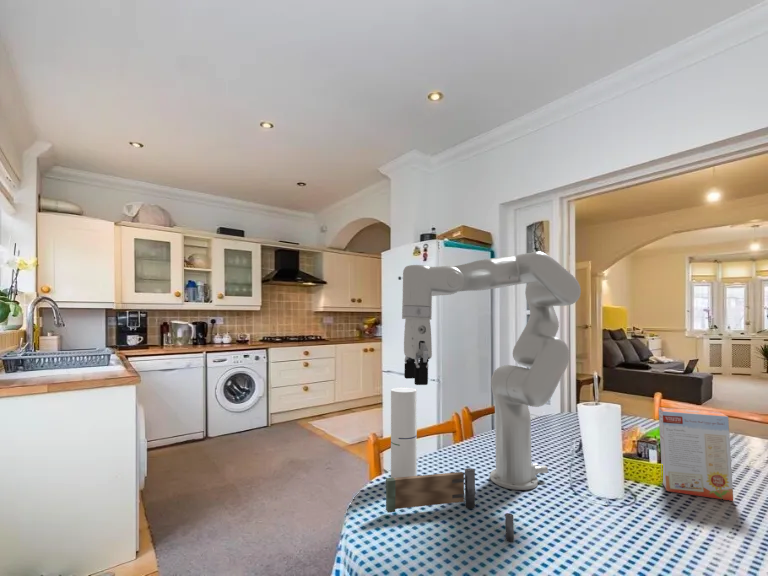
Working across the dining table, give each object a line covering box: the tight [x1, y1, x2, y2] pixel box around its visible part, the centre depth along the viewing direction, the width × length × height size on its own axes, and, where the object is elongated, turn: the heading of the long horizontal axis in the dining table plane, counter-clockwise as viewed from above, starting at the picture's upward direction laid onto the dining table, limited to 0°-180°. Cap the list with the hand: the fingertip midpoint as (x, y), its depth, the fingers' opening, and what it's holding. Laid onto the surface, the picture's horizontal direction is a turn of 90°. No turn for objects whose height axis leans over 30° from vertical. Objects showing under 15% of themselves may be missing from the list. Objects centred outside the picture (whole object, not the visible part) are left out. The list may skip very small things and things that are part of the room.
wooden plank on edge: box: [385, 471, 465, 514], centre depth 93 cm, size 19×2×7 cm, turn 102°
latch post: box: [504, 512, 515, 544], centre depth 81 cm, size 2×2×5 cm
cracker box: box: [658, 406, 734, 502], centre depth 104 cm, size 14×6×21 cm, turn 65°
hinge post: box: [464, 467, 476, 510], centre depth 96 cm, size 2×2×8 cm
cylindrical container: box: [390, 386, 418, 478], centre depth 110 cm, size 7×7×25 cm
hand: (415, 381), depth 100 cm, fingers open, 9 cm apart
